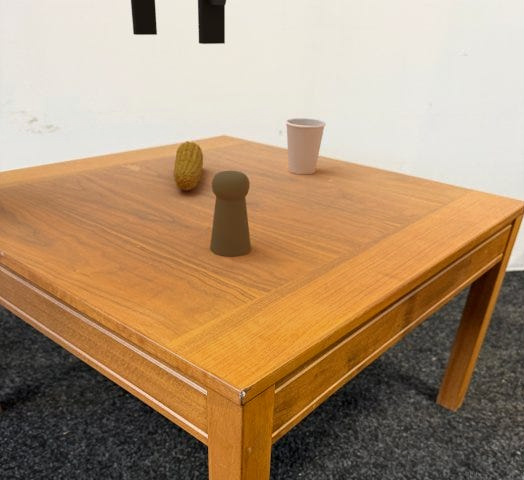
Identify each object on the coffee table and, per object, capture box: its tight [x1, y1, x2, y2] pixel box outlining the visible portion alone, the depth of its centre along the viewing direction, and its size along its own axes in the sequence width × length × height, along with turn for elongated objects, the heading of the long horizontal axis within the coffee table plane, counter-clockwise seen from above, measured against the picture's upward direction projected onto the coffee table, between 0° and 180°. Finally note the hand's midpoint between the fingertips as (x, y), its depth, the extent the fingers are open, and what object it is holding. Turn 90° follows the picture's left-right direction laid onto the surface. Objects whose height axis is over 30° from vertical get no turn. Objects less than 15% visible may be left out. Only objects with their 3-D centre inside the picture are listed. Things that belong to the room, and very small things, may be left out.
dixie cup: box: [284, 117, 327, 175], centre depth 116 cm, size 8×8×10 cm
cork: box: [209, 170, 252, 257], centre depth 78 cm, size 6×6×11 cm
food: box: [173, 140, 204, 191], centre depth 108 cm, size 21×6×6 cm, turn 5°
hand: (176, 39), depth 60 cm, fingers open, 13 cm apart
